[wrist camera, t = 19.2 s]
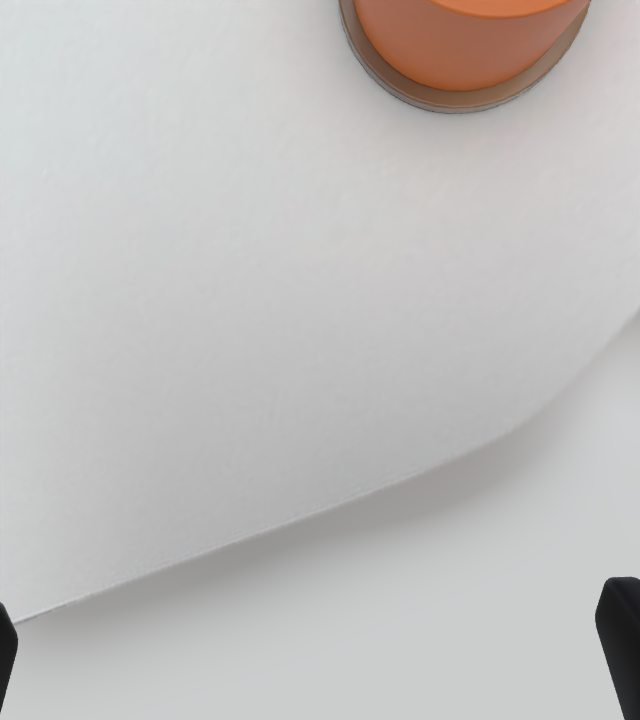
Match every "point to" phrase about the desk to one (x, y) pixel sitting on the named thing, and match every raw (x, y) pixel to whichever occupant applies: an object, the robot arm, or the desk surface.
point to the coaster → (443, 98)
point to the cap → (464, 37)
